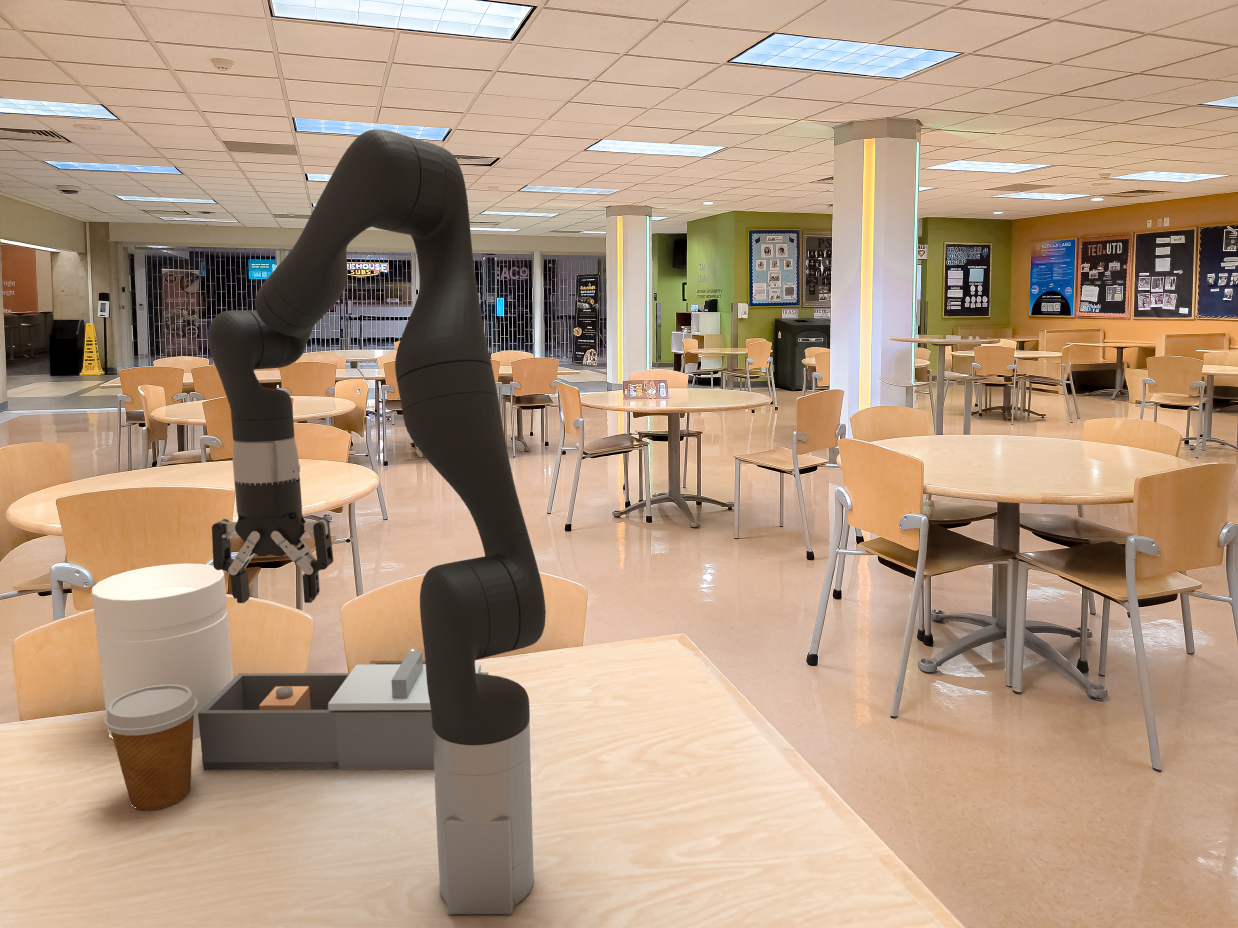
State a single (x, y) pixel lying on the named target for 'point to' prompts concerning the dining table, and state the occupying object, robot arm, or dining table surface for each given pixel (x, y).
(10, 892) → the dining table surface
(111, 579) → the canister
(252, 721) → the frame
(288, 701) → the orange rectangular block
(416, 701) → the lid
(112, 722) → the disposable coffee cup
